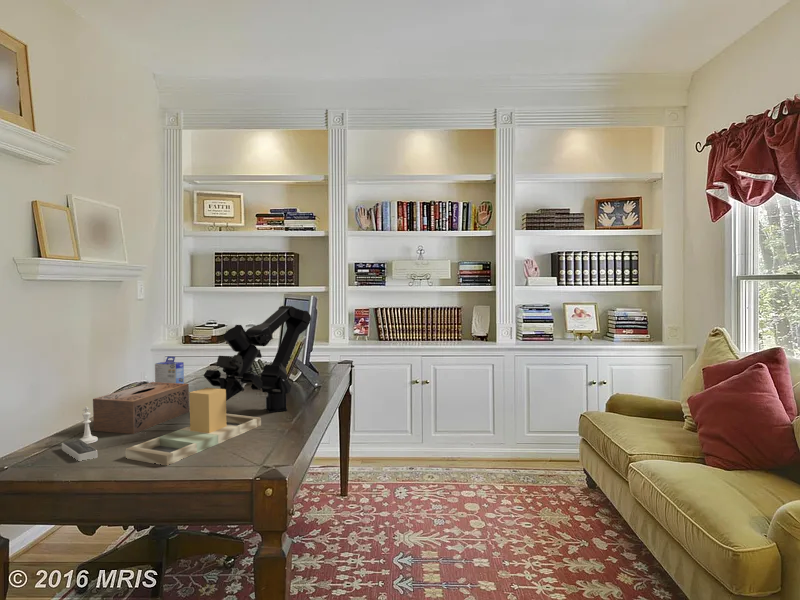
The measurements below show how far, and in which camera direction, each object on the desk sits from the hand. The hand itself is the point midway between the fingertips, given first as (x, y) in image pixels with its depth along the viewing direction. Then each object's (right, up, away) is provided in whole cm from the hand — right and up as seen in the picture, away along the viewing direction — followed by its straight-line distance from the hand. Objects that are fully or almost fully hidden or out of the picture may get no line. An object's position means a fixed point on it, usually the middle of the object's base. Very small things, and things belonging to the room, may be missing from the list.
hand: (220, 403), depth 155 cm
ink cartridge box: (-39, -7, +54) cm, 67 cm away
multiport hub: (-31, -10, -18) cm, 37 cm away
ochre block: (-2, -7, -4) cm, 8 cm away
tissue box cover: (-29, -9, +14) cm, 33 cm away
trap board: (-3, -9, -7) cm, 12 cm away
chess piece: (-35, -10, -8) cm, 37 cm away
